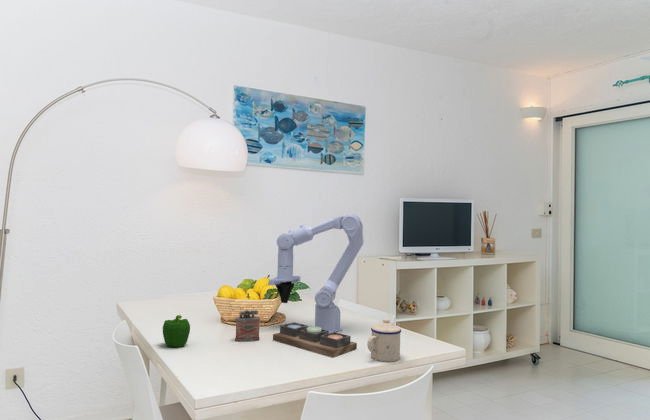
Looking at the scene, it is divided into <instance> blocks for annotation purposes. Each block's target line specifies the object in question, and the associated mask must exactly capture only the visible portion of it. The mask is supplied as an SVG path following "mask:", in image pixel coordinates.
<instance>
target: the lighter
mask: <svg viewBox="0 0 650 420" xmlns="http://www.w3.org/2000/svg"><path fill="white" fill-rule="evenodd" d="M255 315H256V316H255ZM257 315H259V310H257V309H256V310H254V309H253V310H249V309H245V310H244V311H243V310H242V311H241V310H240V311H239V316H237V317H235V322H236V323H235V339H234V342H238V343H240V342H241V343H242V342H245V343H246V342H258V341H260V320H261V317H260V316H257Z"/></svg>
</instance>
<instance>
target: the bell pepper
mask: <svg viewBox="0 0 650 420" xmlns="http://www.w3.org/2000/svg"><path fill="white" fill-rule="evenodd" d="M182 317H183V316H182V315H181V314H177V315H176V316H175V318H174V319H166V320H165V321H164V322H163V325H162V336H163V341H164V344H165V345H166V346H167V347H175V348H179V347H181V348H182V347H184V346H185V345H186V344H187V343H188V340H189V337H190V336H189V335H190V333H191V332H190V331H191V324H190V322H189V320H188V319H187V318H182Z"/></svg>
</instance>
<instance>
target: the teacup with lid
mask: <svg viewBox="0 0 650 420" xmlns="http://www.w3.org/2000/svg"><path fill="white" fill-rule="evenodd" d="M370 330H371V336H370V337H369V338H368V340H367V341H366V342H367V343H366V347H367V349H368V351H369V352H370V356H371V358H372V359H373V358H374V359H373V360H375V359H376V360H375V361H378V360H379V361H378V362H386V363H387V362H388V363H391V362H396V361H398V360H400V356H401V332H402V329H401V327H400V326H398V325H396V324H394V323H392V322H390V319H389V318H383V319H382V321H381V322H378V323H377V324H373V325H372V326H371V328H370Z"/></svg>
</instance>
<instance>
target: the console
mask: <svg viewBox="0 0 650 420" xmlns="http://www.w3.org/2000/svg"><path fill="white" fill-rule="evenodd" d="M288 325H300V326H301V327H299V328H295V329H294V328H290V327H287V326H288ZM307 327H309V325H308V324H302V323H299V322H295V321H293V322H290V323H284V324H281V325H279V332H277V333H273V334H272V341H274V342H278V343H281V344H285V345H287V346H291V347H294V348H295V347H296V348H299V349H302V350H305V351H308V352H312V353H315V354H319V355H322V356H326V357H330V358H335V356H336V357H338V355H339V356H341V355H343V354H347V353H350V352H353V351H355V349H356V350H358V349H357V347H358V346H357V345H358V342H354V341H351V336H350V335H349V334H343V333H340V332H337V331H336V332H332V333H329V331H328V330H324V329H321V332H320V333H316V334H314V333H310V332H307ZM329 335H341V336H343V338H340V339H333V338H329V337H328V336H329ZM352 350H353V351H352Z"/></svg>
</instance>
